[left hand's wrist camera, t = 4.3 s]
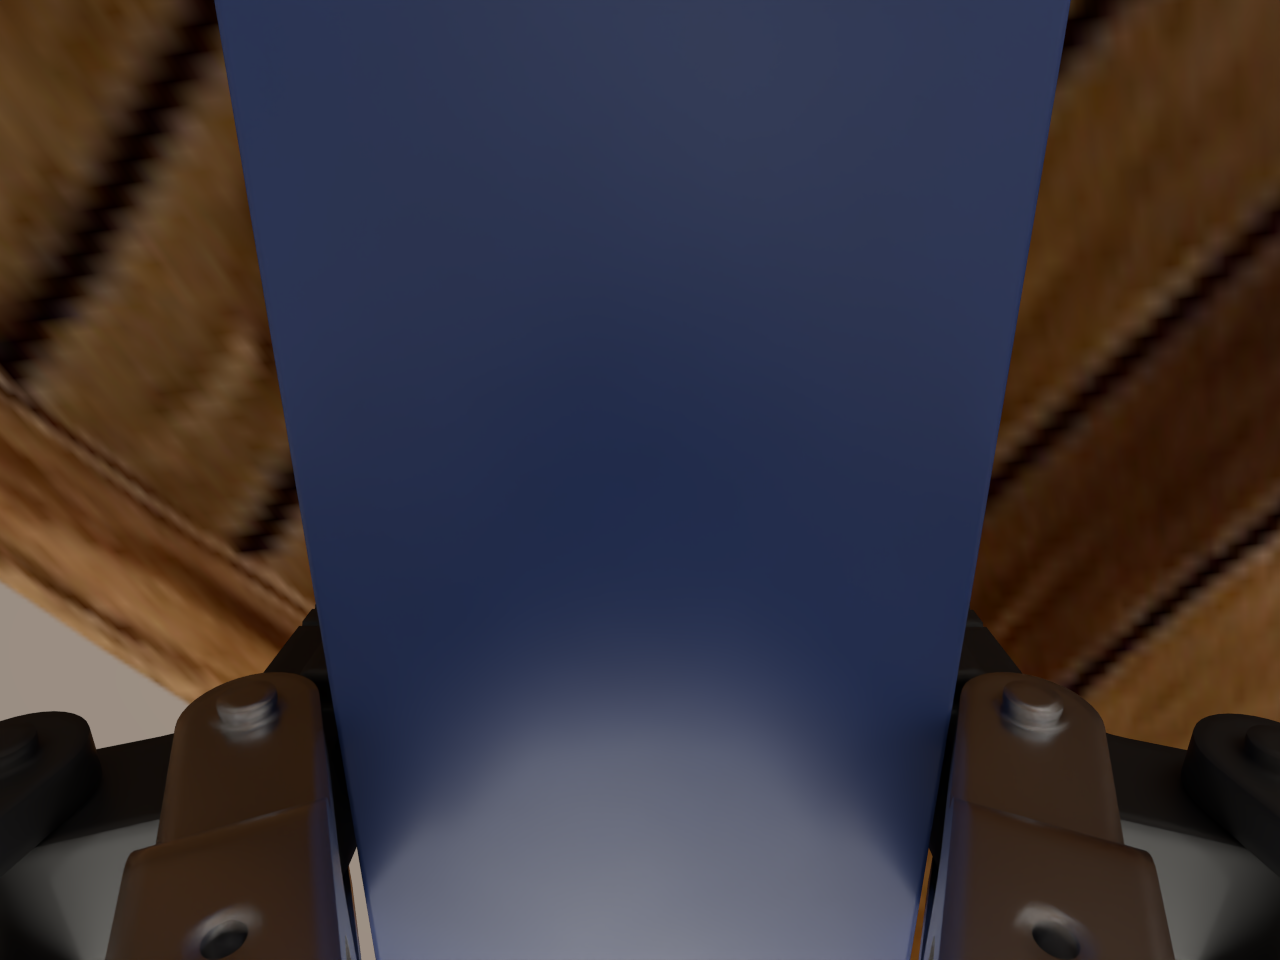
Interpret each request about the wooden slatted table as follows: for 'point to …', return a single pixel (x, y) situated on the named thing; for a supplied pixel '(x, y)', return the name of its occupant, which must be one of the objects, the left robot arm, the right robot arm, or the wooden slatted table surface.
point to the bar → (642, 442)
